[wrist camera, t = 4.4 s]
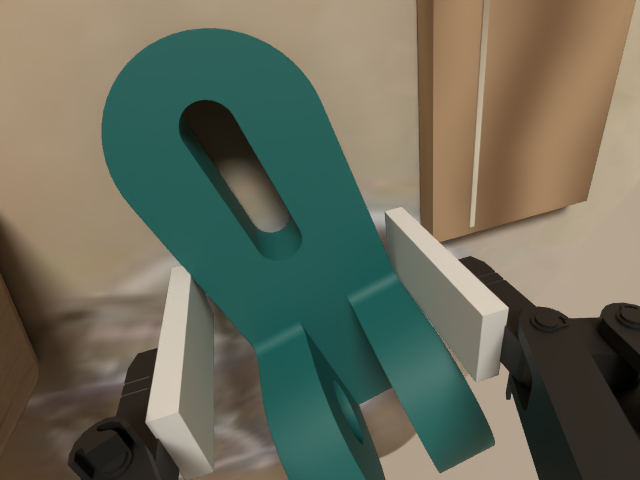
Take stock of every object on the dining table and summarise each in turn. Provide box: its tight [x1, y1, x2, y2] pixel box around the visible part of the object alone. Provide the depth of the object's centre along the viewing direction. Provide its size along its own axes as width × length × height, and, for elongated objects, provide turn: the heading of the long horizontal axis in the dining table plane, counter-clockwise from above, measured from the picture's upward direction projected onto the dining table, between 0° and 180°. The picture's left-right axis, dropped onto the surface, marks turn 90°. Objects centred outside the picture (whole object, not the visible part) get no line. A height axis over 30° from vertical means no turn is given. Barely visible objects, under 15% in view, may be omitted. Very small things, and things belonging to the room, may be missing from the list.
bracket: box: [102, 28, 495, 480], centre depth 13 cm, size 18×7×8 cm, turn 25°
